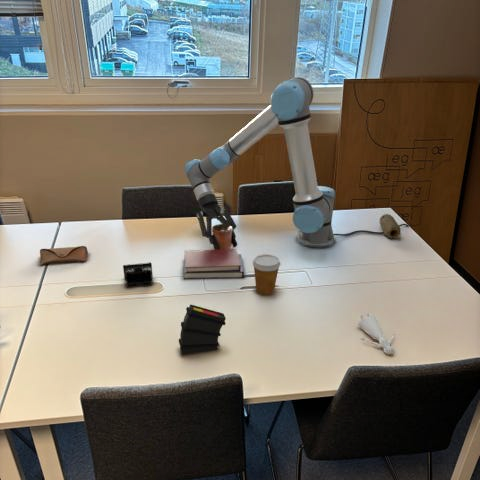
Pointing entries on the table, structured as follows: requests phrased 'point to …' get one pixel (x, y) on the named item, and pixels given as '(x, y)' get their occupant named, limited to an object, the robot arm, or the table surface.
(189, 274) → the navy book
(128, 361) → the table surface
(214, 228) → the terracotta pot
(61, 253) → the sunglasses case
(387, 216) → the stone weight
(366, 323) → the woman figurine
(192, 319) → the magazine
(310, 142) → the robot arm
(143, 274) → the end cap
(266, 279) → the disposable coffee cup
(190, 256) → the burgundy book
